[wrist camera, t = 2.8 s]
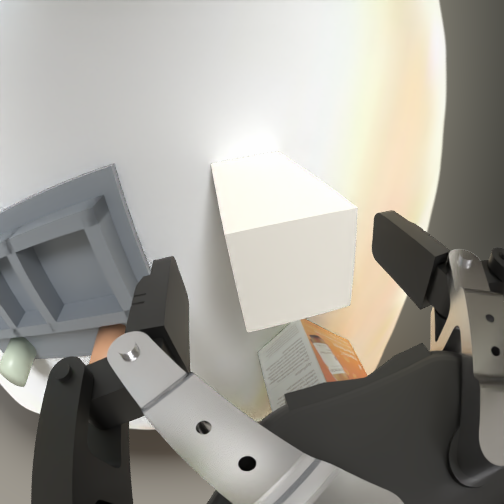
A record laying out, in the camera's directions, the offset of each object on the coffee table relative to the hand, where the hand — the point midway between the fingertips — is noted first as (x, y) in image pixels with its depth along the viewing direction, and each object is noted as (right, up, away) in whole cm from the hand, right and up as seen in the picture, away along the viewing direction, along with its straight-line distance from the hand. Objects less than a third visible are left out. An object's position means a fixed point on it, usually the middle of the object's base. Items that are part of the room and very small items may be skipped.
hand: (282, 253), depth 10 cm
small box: (+4, -9, +15) cm, 18 cm away
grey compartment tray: (-19, -3, +6) cm, 20 cm away
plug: (-1, +4, +6) cm, 7 cm away
